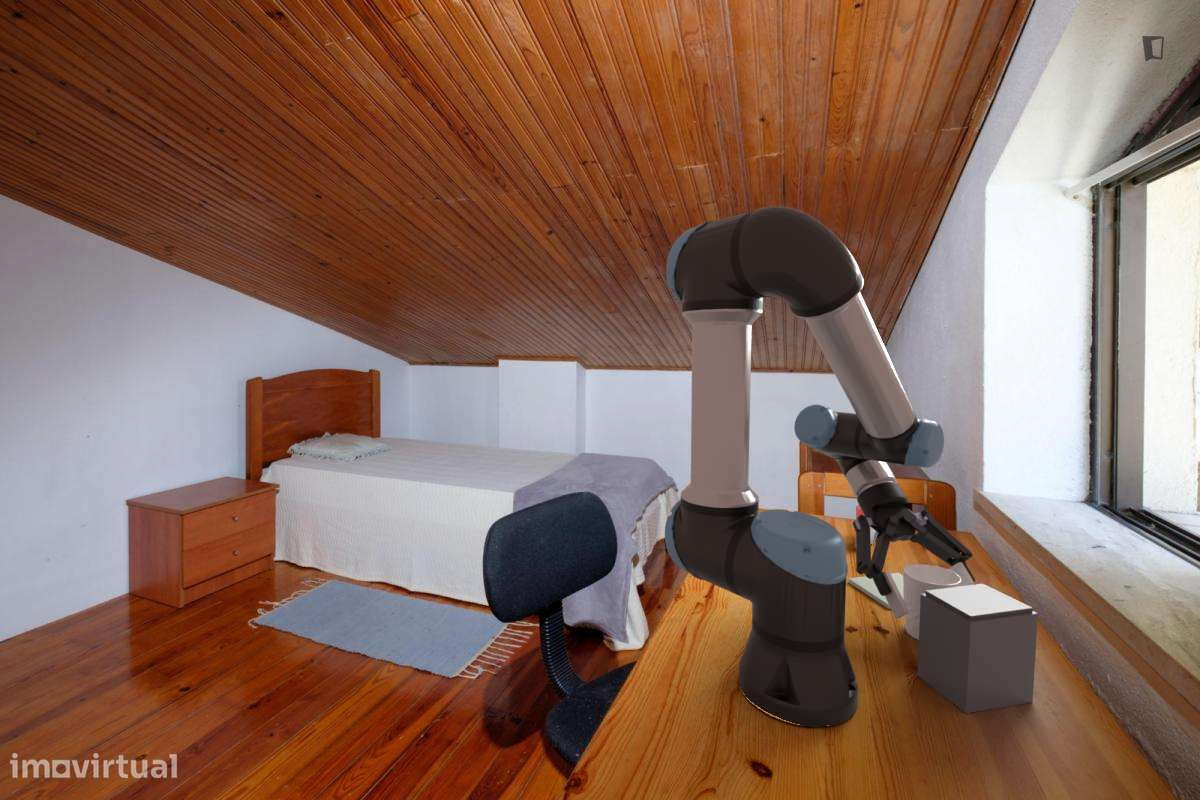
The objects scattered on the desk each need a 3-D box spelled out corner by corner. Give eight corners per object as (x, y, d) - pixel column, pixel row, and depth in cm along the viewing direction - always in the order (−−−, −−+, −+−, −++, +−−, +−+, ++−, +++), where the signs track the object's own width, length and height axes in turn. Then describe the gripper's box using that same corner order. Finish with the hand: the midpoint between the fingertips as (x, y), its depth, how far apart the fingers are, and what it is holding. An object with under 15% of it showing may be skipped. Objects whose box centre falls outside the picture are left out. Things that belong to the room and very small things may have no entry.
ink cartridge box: (881, 537, 129) (882, 497, 128) (866, 551, 121) (867, 508, 120) (869, 535, 130) (871, 495, 129) (854, 548, 122) (855, 506, 121)
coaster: (888, 609, 94) (888, 604, 94) (848, 582, 105) (848, 578, 105) (943, 602, 96) (943, 597, 96) (898, 576, 107) (898, 572, 107)
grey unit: (966, 713, 68) (970, 618, 66) (917, 675, 76) (920, 589, 74) (1036, 701, 70) (1042, 608, 68) (981, 665, 78) (986, 581, 76)
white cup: (909, 616, 92) (911, 560, 91) (964, 633, 86) (967, 573, 85) (894, 634, 86) (896, 574, 85) (951, 654, 81) (954, 589, 80)
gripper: (924, 496, 102) (992, 609, 89) (805, 506, 98) (857, 627, 84) (949, 475, 96) (1024, 592, 83) (823, 485, 92) (882, 611, 79)
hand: (941, 610), depth 84 cm, fingers open, 13 cm apart
